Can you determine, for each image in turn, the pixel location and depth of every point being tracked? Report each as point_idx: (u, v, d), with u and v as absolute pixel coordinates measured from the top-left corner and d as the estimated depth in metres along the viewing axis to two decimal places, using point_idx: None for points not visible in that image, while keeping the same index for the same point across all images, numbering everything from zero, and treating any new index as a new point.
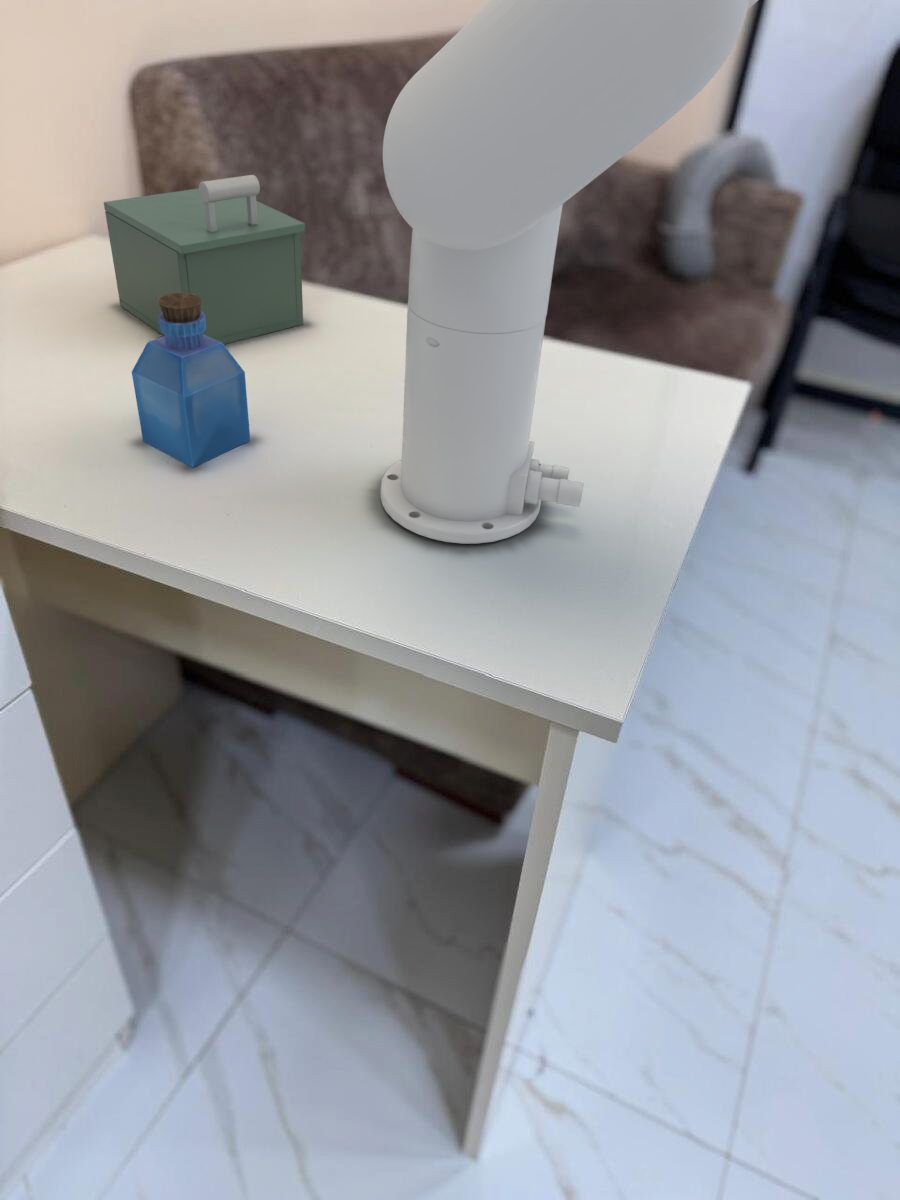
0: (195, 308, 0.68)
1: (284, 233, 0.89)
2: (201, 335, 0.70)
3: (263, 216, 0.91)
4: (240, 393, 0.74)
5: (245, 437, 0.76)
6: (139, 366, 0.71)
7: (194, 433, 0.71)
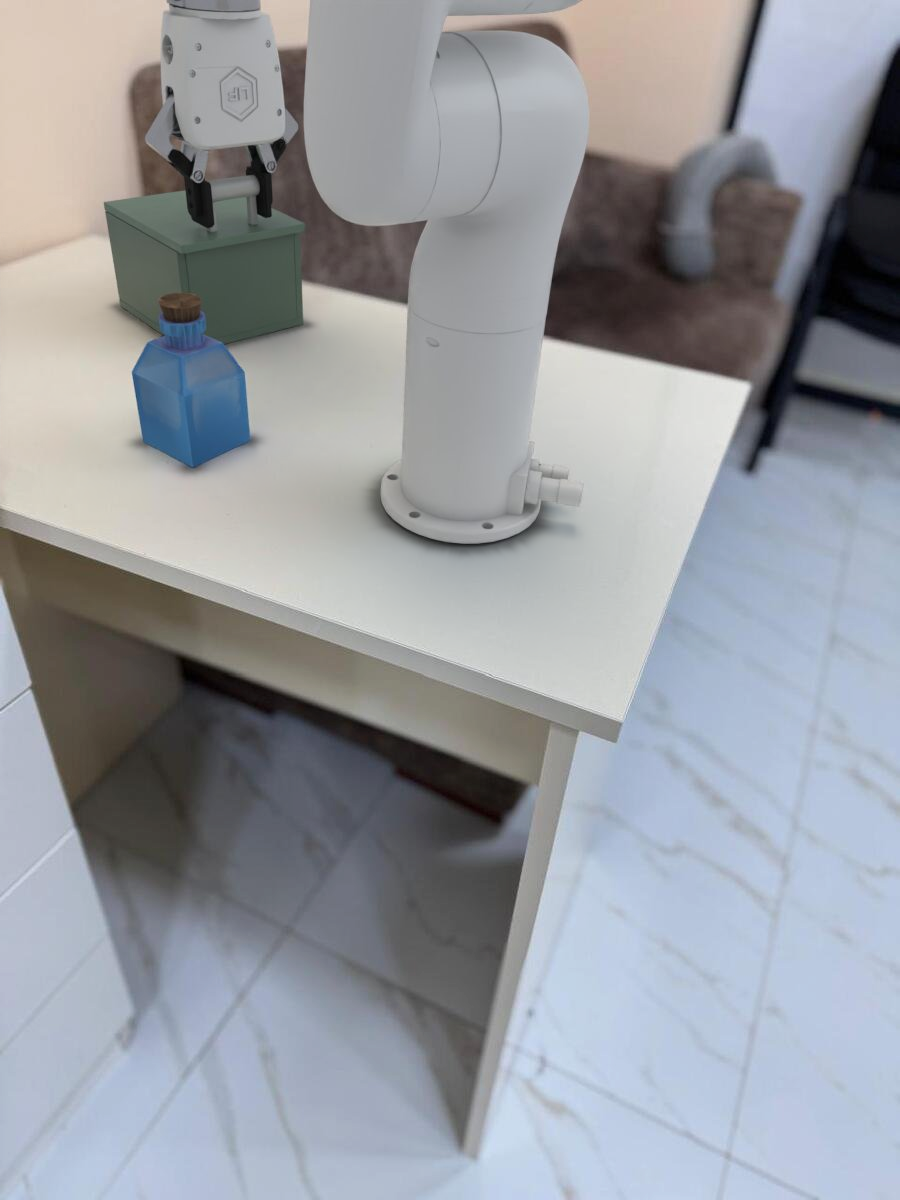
0: (195, 308, 0.68)
1: (284, 233, 0.89)
2: (201, 335, 0.70)
3: None
4: (240, 393, 0.74)
5: (245, 437, 0.76)
6: (139, 366, 0.71)
7: (194, 433, 0.71)
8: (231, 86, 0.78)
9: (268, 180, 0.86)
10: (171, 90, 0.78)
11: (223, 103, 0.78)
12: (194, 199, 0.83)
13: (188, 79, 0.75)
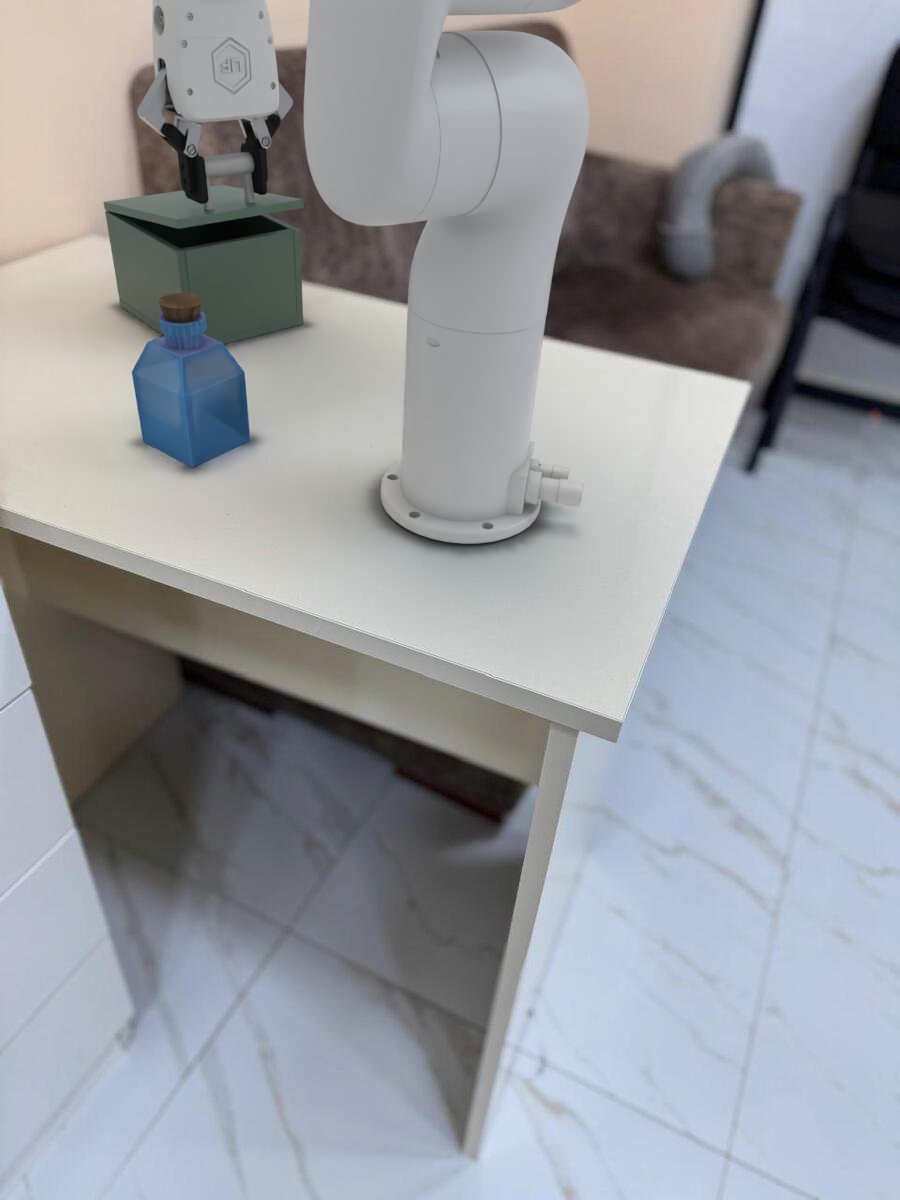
0: (195, 308, 0.68)
1: (282, 209, 0.88)
2: (201, 335, 0.70)
3: (261, 198, 0.90)
4: (240, 393, 0.74)
5: (245, 437, 0.76)
6: (139, 366, 0.71)
7: (194, 433, 0.71)
8: (223, 57, 0.77)
9: (263, 156, 0.85)
10: (163, 63, 0.77)
11: (216, 75, 0.77)
12: (188, 174, 0.82)
13: (180, 49, 0.75)
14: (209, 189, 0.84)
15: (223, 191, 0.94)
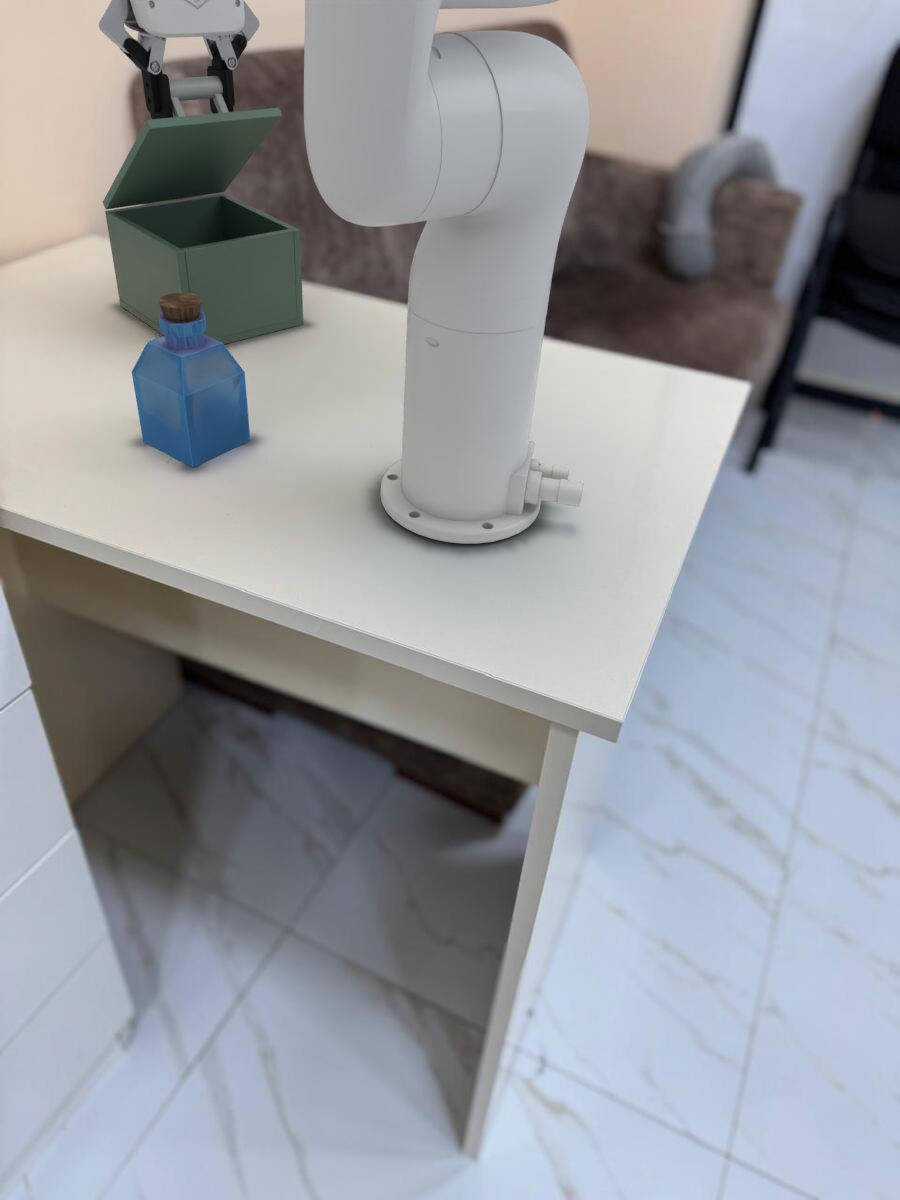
0: (195, 308, 0.68)
1: (259, 115, 0.85)
2: (201, 335, 0.70)
3: None
4: (240, 393, 0.74)
5: (245, 437, 0.76)
6: (139, 366, 0.71)
7: (194, 433, 0.71)
8: None
9: (229, 77, 0.84)
10: None
11: None
12: (152, 93, 0.81)
13: None
14: (180, 107, 0.82)
15: None
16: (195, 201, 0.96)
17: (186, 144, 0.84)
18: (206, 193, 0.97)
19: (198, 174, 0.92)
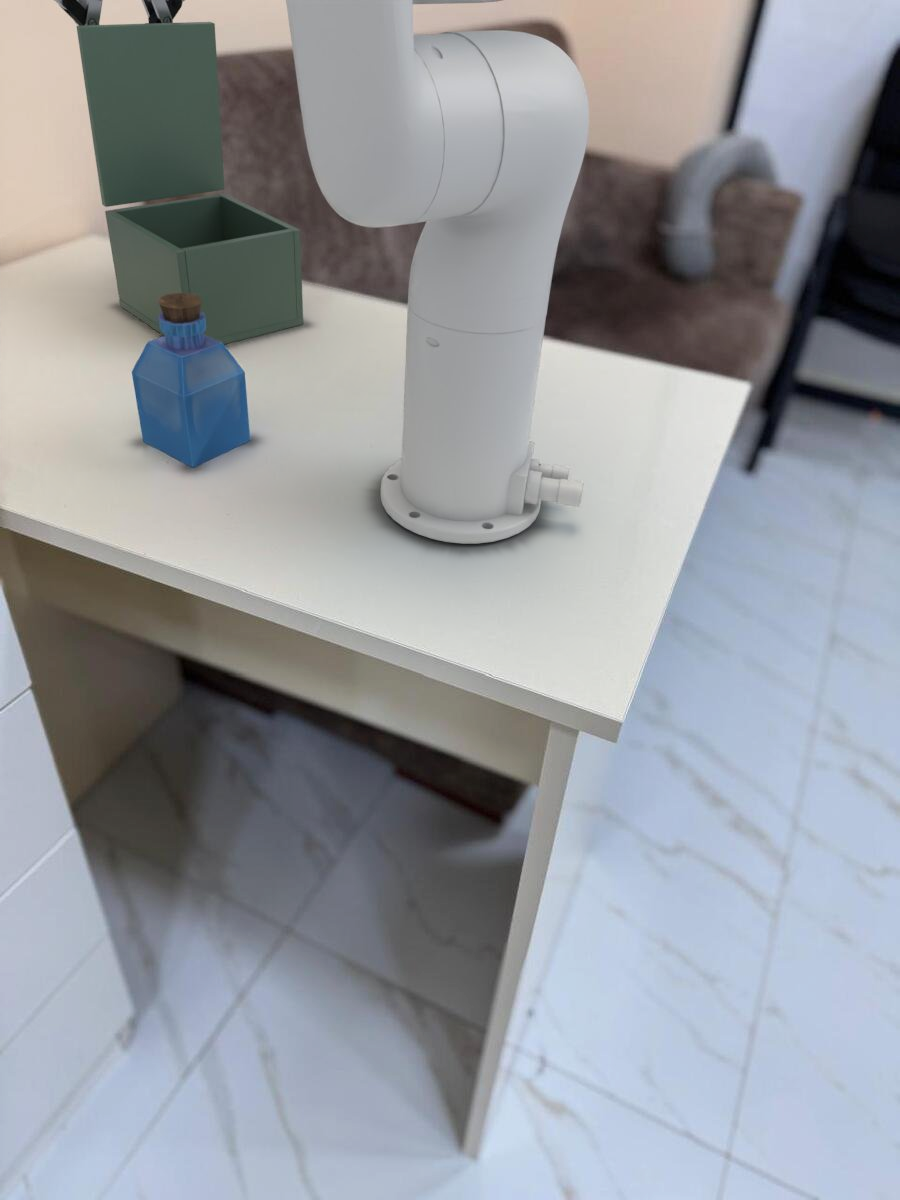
0: (195, 308, 0.68)
1: (191, 23, 0.87)
2: (201, 335, 0.70)
3: None
4: (240, 393, 0.74)
5: (245, 437, 0.76)
6: (139, 366, 0.71)
7: (194, 433, 0.71)
8: None
9: None
10: None
11: None
12: None
13: None
14: None
15: None
16: (195, 201, 0.96)
17: (135, 70, 0.86)
18: (205, 188, 0.97)
19: (177, 142, 0.92)
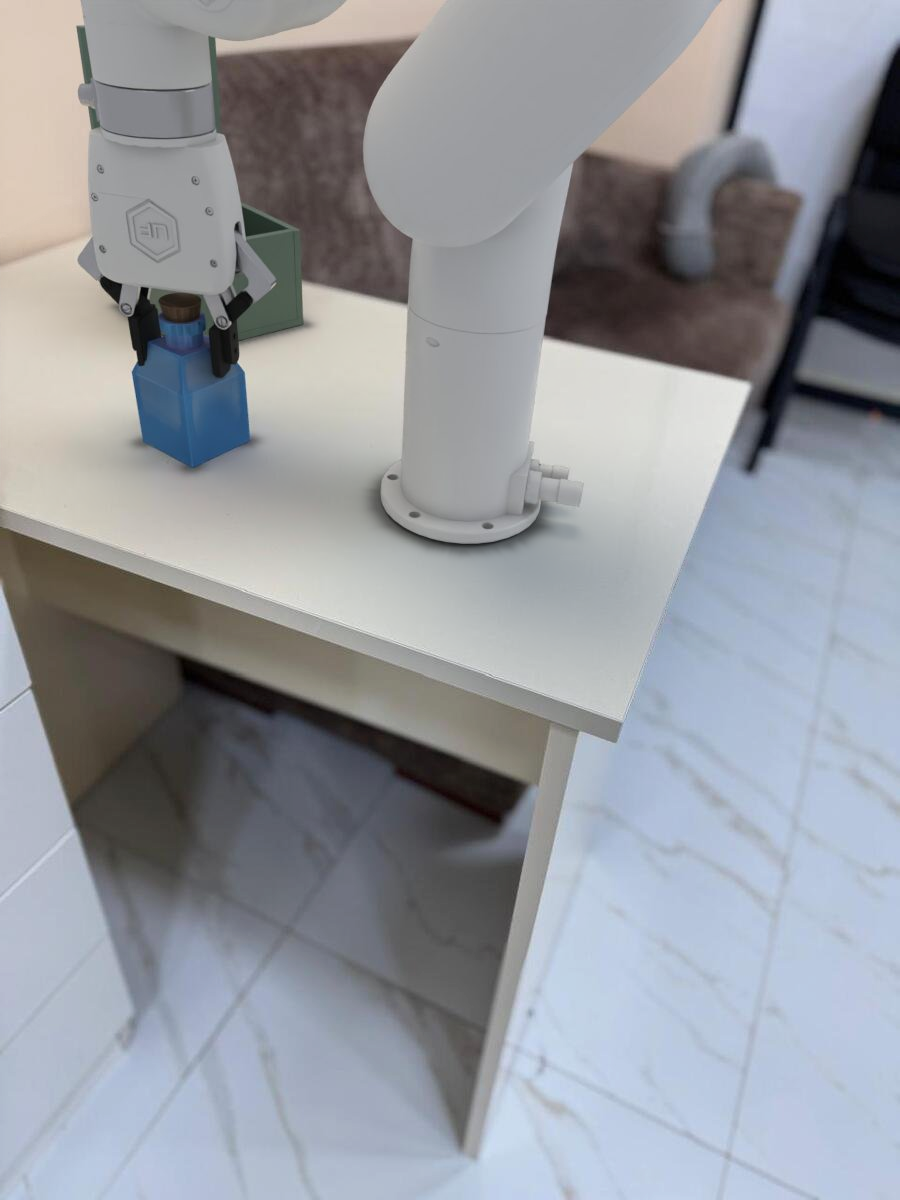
0: (195, 308, 0.68)
1: None
2: (201, 335, 0.70)
3: None
4: (240, 393, 0.74)
5: (245, 437, 0.76)
6: (139, 366, 0.71)
7: (194, 433, 0.71)
8: (144, 220, 0.63)
9: (215, 336, 0.68)
10: None
11: (134, 237, 0.63)
12: (130, 332, 0.70)
13: (91, 202, 0.63)
14: None
15: None
16: None
17: None
18: None
19: None
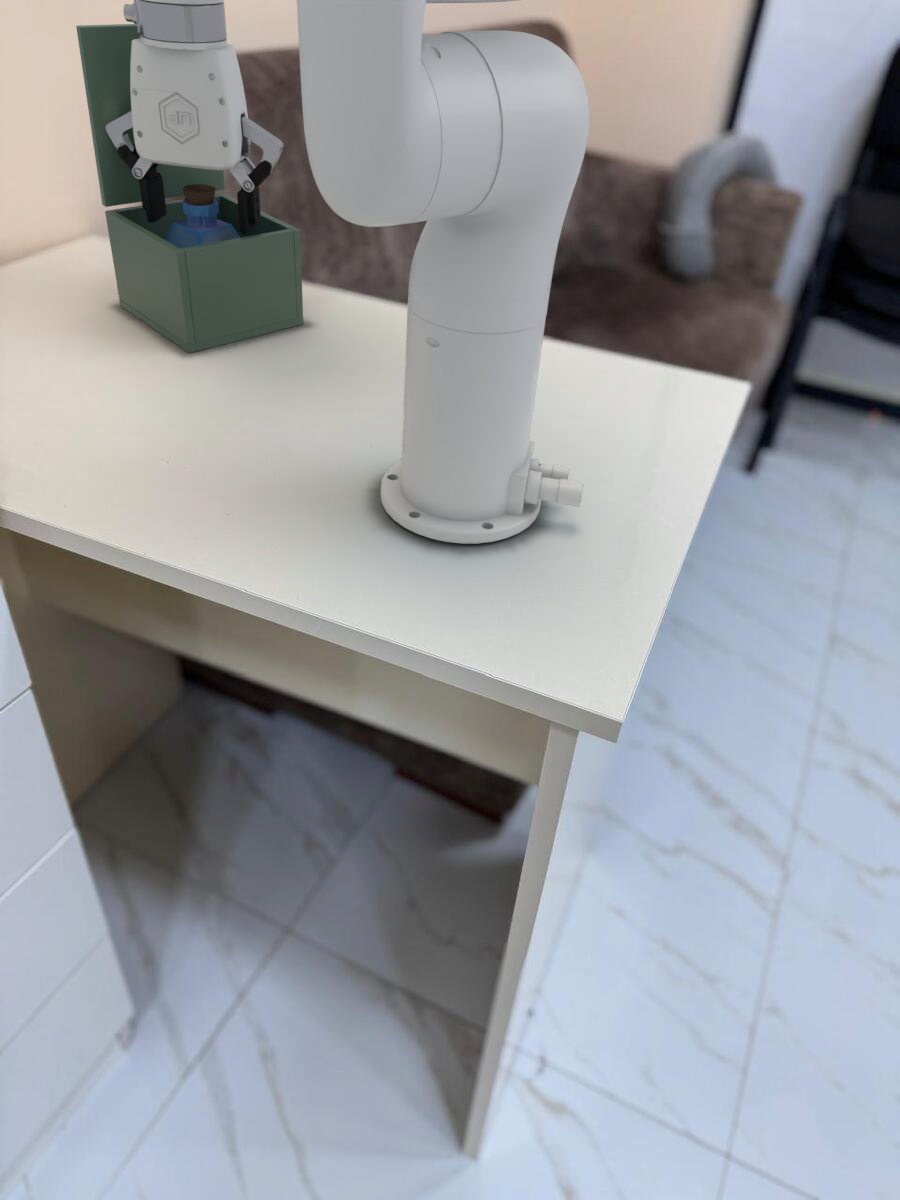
0: (211, 194, 0.89)
1: None
2: (215, 217, 0.91)
3: None
4: None
5: None
6: None
7: None
8: (172, 109, 0.83)
9: (242, 198, 0.87)
10: None
11: (164, 123, 0.83)
12: (141, 193, 0.90)
13: (132, 96, 0.83)
14: None
15: None
16: None
17: None
18: None
19: None
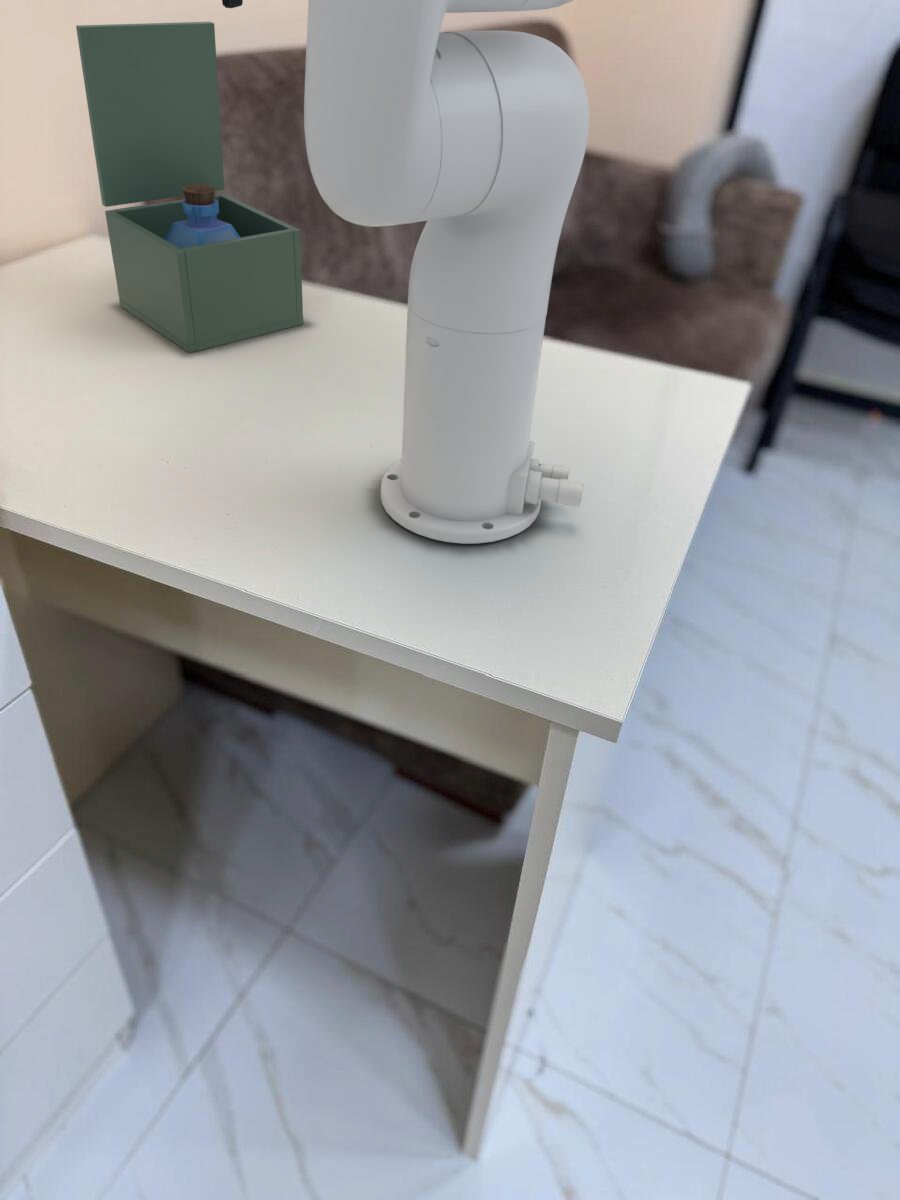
0: (211, 194, 0.89)
1: (190, 23, 0.87)
2: (215, 217, 0.91)
3: None
4: None
5: None
6: None
7: None
8: None
9: None
10: None
11: None
12: None
13: None
14: None
15: None
16: None
17: (135, 70, 0.86)
18: None
19: (177, 142, 0.92)
